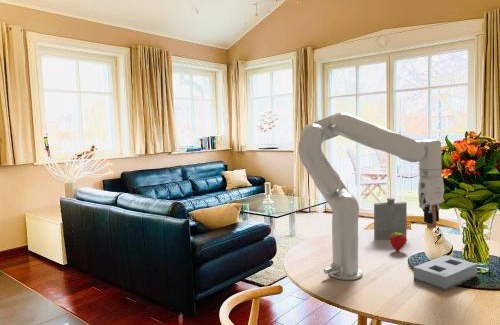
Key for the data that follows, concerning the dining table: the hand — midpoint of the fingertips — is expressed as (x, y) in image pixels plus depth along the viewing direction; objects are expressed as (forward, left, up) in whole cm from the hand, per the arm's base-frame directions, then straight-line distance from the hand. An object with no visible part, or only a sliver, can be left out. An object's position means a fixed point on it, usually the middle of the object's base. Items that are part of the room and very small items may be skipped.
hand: (431, 221), depth 147 cm
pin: (0, 0, -2) cm, 2 cm away
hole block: (-1, -6, -20) cm, 21 cm away
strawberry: (+11, +23, -20) cm, 33 cm away
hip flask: (+24, +37, -20) cm, 49 cm away
